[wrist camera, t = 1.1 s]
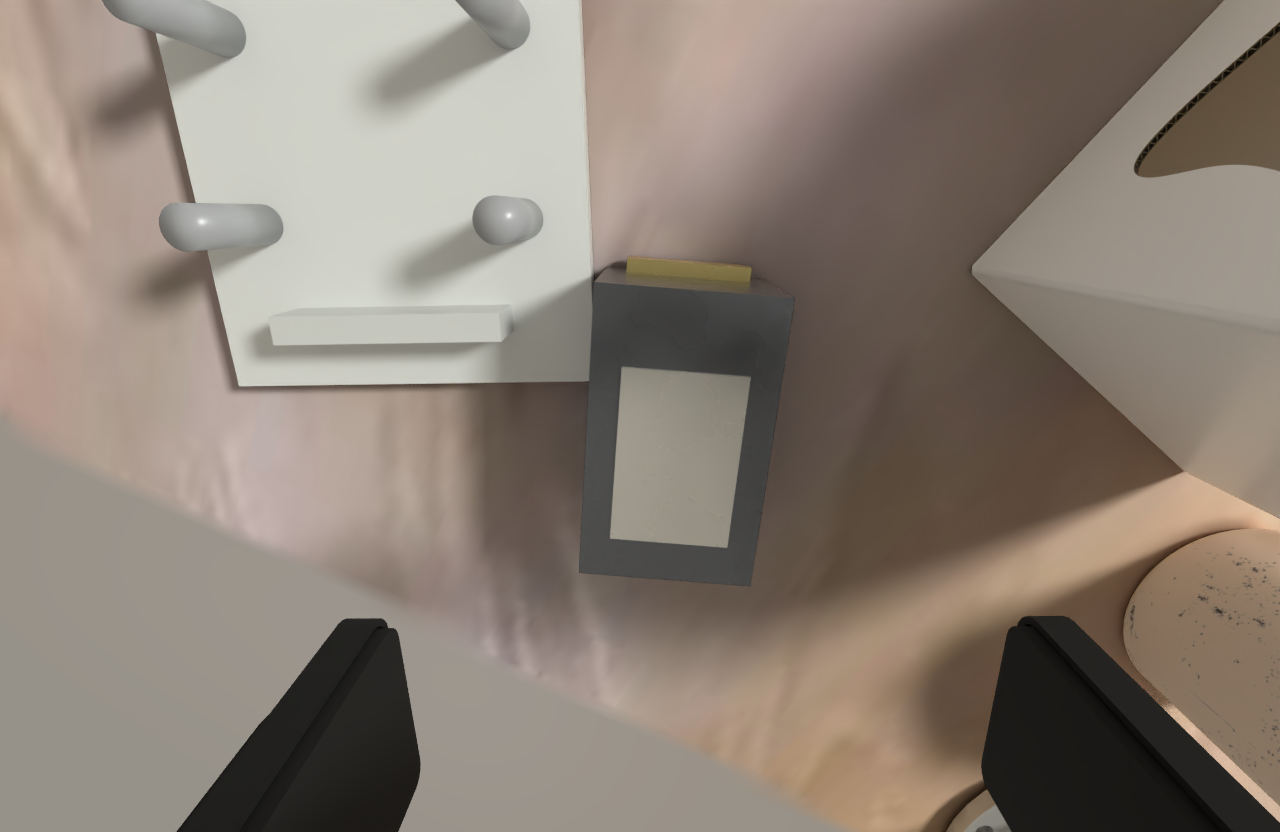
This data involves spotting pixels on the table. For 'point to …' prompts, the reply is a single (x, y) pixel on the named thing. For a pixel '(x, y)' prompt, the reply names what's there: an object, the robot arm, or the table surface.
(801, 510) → the table surface
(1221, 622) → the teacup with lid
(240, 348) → the peg fixture base
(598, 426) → the drive
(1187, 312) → the gable box
